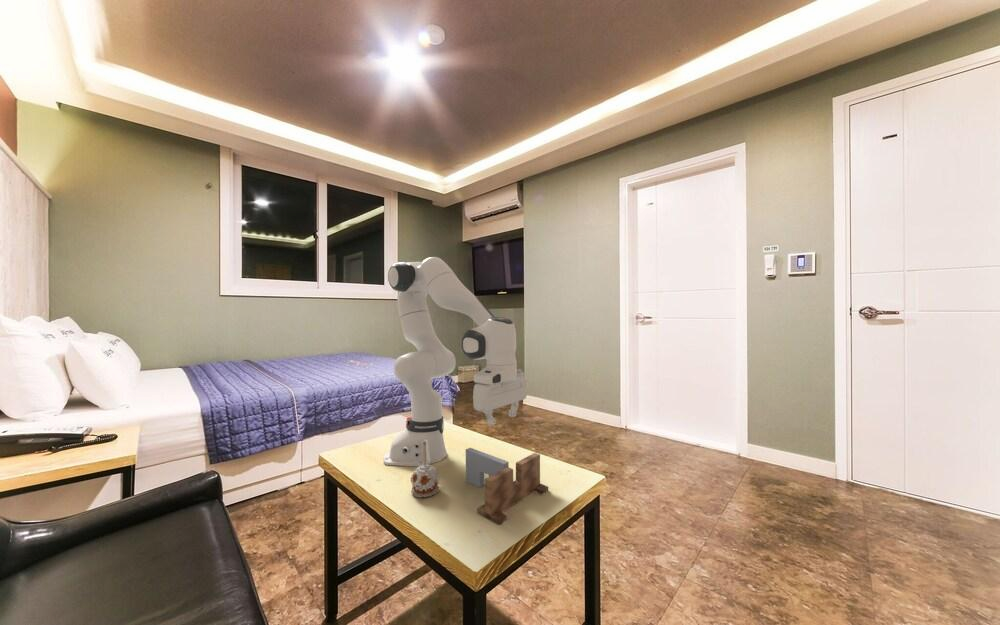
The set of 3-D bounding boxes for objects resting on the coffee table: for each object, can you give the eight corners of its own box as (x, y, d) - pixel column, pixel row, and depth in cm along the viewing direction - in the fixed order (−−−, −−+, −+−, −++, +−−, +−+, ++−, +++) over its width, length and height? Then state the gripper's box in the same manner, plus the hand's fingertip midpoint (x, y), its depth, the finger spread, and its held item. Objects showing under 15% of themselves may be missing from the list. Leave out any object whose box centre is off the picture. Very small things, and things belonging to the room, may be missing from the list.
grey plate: (508, 496, 103) (508, 461, 103) (504, 498, 102) (504, 464, 101) (470, 478, 114) (470, 447, 113) (465, 481, 112) (465, 449, 112)
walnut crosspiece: (499, 524, 89) (499, 485, 89) (477, 512, 95) (476, 475, 95) (548, 490, 106) (548, 457, 106) (526, 482, 111) (526, 450, 111)
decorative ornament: (406, 496, 103) (405, 445, 103) (421, 483, 111) (420, 435, 110) (429, 501, 101) (429, 448, 100) (443, 488, 108) (442, 438, 108)
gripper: (515, 367, 113) (516, 410, 113) (469, 377, 98) (469, 427, 98) (531, 369, 109) (532, 414, 109) (485, 379, 94) (486, 432, 94)
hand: (502, 420), depth 103 cm, fingers open, 8 cm apart
